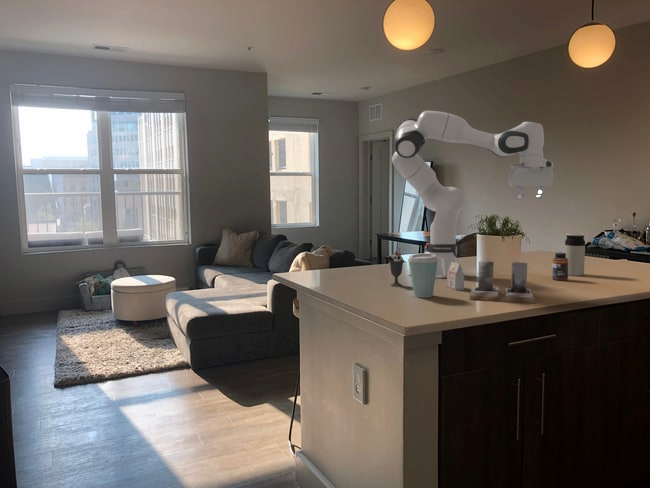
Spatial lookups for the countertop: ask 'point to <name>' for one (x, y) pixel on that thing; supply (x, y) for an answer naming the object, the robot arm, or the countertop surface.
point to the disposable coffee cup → (423, 273)
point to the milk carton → (455, 277)
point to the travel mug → (575, 253)
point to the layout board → (493, 294)
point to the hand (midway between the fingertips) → (530, 198)
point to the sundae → (396, 266)
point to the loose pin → (519, 277)
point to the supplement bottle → (560, 267)
